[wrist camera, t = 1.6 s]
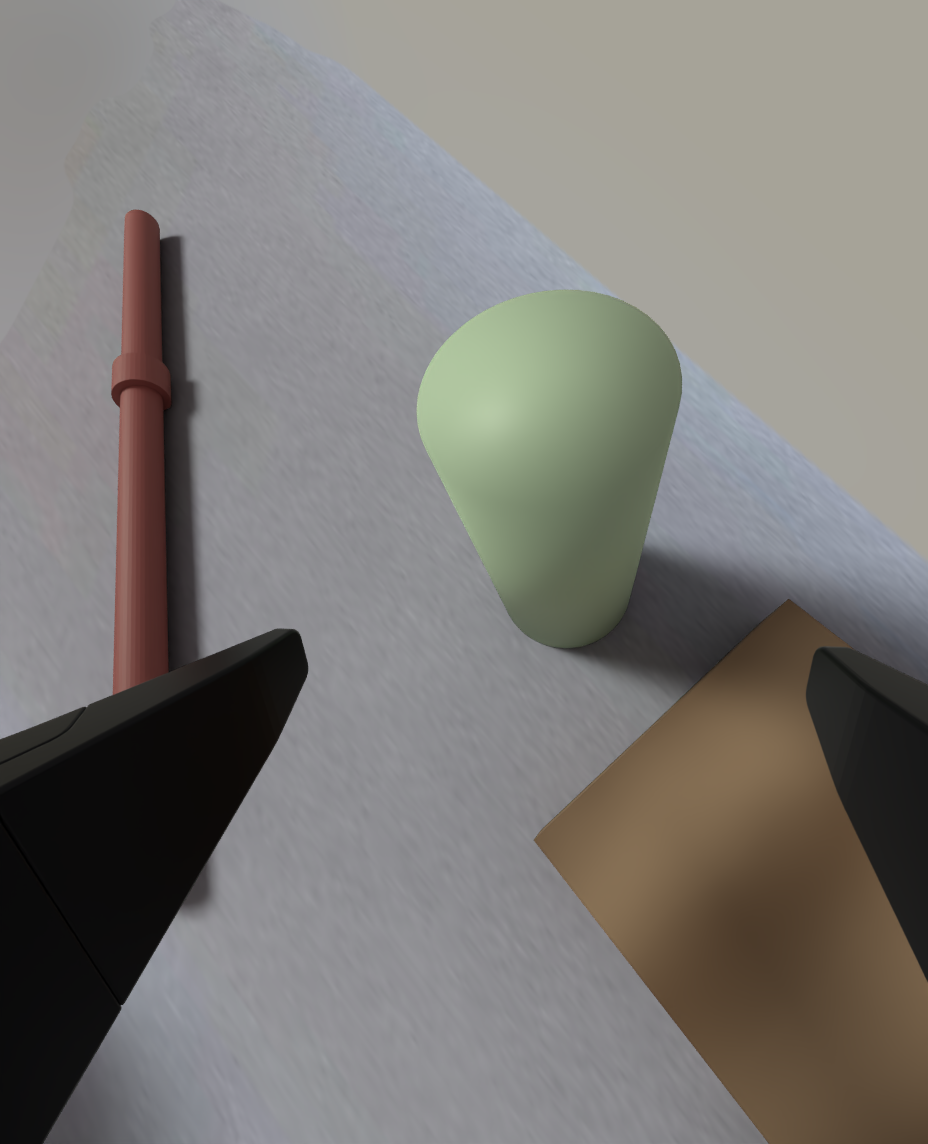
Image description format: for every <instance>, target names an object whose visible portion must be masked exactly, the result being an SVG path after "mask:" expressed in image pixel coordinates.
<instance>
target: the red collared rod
mask: <svg viewBox="0 0 928 1144" xmlns="http://www.w3.org/2000/svg"><path fill="white" fill-rule="evenodd" d="M111 395H112V399H113V401H114V402H115V403H116V405H117V406H119V407H120V430H119V470H118V510H117V550H116V590H115V630H114V669H113V695H114V694H116V693H119V692H121V691H124V690H126V689H129V688H131V687H134V686H136V685H139V684H141V683H144V682H146V681H149V680H151V679H153V678H156V677H158V676H161V675H163V674H166V673H168V672H169V668H168V619H167V570H166V520H165V471H164V421H163V410H166V409H168V408H170V407H171V376H170V372H169V370H168V368H167V367H166V366H165V365H164V364H163V363H162V322H161V272H160V228H159V225H158V223H157V221H156V220H155V219H154V218H153V217H152V216H151V215H150V214H148V213H147V212H145V211H142V210H131V211H129V212H128V213H127V214H126V216H125V230H124V270H123V311H122V351H121V355H120V356H118V357H117V358H116V359H115V360H114V362H113V365H112V392H111Z"/></svg>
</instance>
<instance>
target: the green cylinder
mask: <svg viewBox="0 0 928 1144" xmlns="http://www.w3.org/2000/svg"><path fill="white" fill-rule="evenodd" d="M681 394H682V375H681V369H680V363H679V360H678V357H677V354H676V351H675V349H674V347H673V345H672V343H671V342H670V340H669V338H668V337H667V335H666V334H665V333H664V331H663V330H662V329H661V328H660V326H659V325H657V324H656V323H655V322H654V321H653V320H652V319H651V318H650V317H649V316H648V315H646V314H645V313H643V312H642V311H640V310H639V309H637V308H636V307H634V306H632V305H630V304H628V303H626V302H624V301H622V300H619V299H616V298H614V297H611V296H608V295H604V294H599V293H595V292H589V291H581V290H552V291H543V292H537V293H531V294H527V295H523V296H520V297H516V298H513V299H510V300H508V301H505V302H502V303H500V304H498V305H496V306H493V307H491V308H489V309H487V310H485V311H484V312H482V313H480V314H479V315H477V316H475V317H474V318H472V319H471V320H470V321H468V322H467V323H466V324H464V325H463V326H462V327H460V328H459V329H458V330H457V331H456V332H455V333H454V334H453V335H452V336H450V337H449V339H448V340H447V341H446V342H445V343H444V344H443V345H442V347H441V348H440V349H439V350H438V352H437V353H436V355H435V356H434V358H433V359H432V361H431V363H430V364H429V366H428V368H427V370H426V372H425V375H424V377H423V380H422V383H421V385H420V390H419V394H418V400H417V421H418V428H419V432H420V436H421V439H422V441H423V444H424V446H425V448H426V450H427V452H428V454H429V456H430V458H431V460H432V462H433V464H434V466H435V468H436V470H437V472H438V474H439V476H440V478H441V480H442V482H443V484H444V486H445V488H446V490H447V492H448V494H449V496H450V498H451V500H452V502H453V504H454V506H455V508H456V510H457V512H458V514H459V516H460V518H461V520H462V522H463V524H464V526H465V528H466V530H467V532H468V534H469V536H470V538H471V540H472V542H473V544H474V546H475V548H476V550H477V552H478V554H479V556H480V558H481V560H482V562H483V564H484V566H485V568H486V570H487V572H488V574H489V576H490V578H491V580H492V582H493V584H494V586H495V588H496V590H497V592H498V594H499V596H500V598H501V600H502V602H503V604H504V606H505V608H506V610H507V612H508V614H509V616H510V617H511V619H512V620H513V622H514V623H515V624H516V626H517V627H518V628H519V629H520V630H521V631H522V632H523V633H524V634H526V635H527V636H528V637H530V638H531V639H533V640H535V641H537V642H539V643H542V644H544V645H547V646H552V647H557V648H575V647H581V646H585V645H588V644H591V643H593V642H596V641H598V640H599V639H601V638H603V637H604V636H606V635H607V634H608V633H610V632H611V631H612V630H613V629H614V628H615V627H616V626H617V625H618V623H619V622H620V620H621V619H622V617H623V615H624V614H625V612H626V609H627V606H628V603H629V600H630V596H631V592H632V588H633V584H634V580H635V576H636V572H637V569H638V565H639V561H640V557H641V553H642V549H643V545H644V541H645V538H646V534H647V530H648V526H649V522H650V518H651V514H652V510H653V506H654V503H655V499H656V495H657V491H658V487H659V483H660V479H661V475H662V471H663V468H664V464H665V460H666V456H667V452H668V448H669V444H670V440H671V436H672V433H673V429H674V425H675V421H676V417H677V413H678V409H679V404H680V399H681Z"/></svg>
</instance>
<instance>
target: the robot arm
mask: <svg viewBox="0 0 928 1144" xmlns="http://www.w3.org/2000/svg"><path fill="white" fill-rule="evenodd" d="M307 674H308V662H307V658H306V654H305V650H304V647H303V643H302V639H301V636H300V634H299V632H298V631H297V630H295V629H274V630H272V631H269V632H267V633H264V634H262V635H260V636H257V637H255V638H252V639H250V640H247V641H245V642H242V643H240V644H237V645H235V646H232V647H230V648H227V649H225V650H223V651H220V652H218V653H215V654H213V655H210V656H208V657H205V658H203V659H200V660H198V661H195V662H193V663H190V664H188V665H186V666H183V667H181V668H178V669H176V670H173V671H171V672H168V673H166V674H163V675H161V676H158V677H156V678H153V679H151V680H149V681H146V682H144V683H141V684H139V685H136V686H134V687H131V688H129V689H126V690H124V691H121V692H119V693H116V694H114V695H112V696H109V697H107V698H104V699H102V700H99V701H97V702H94V703H92V704H90V705H88V707H82V708H79V709H77V710H74V711H72V712H69V713H67V714H64V715H62V716H59V717H57V718H54V719H52V720H49V721H47V722H44V723H42V724H39V725H37V726H34V727H32V728H29V729H26V730H24V731H21V732H19V733H16V734H13V735H11V736H8V737H5V738H3V739H0V1144H43V1143H44V1141H45V1139H46V1137H47V1136H48V1134H49V1132H50V1131H51V1129H52V1127H53V1125H54V1124H55V1122H56V1120H57V1119H58V1117H59V1115H60V1113H61V1112H62V1110H63V1108H64V1107H65V1105H66V1103H67V1101H68V1100H69V1098H70V1096H71V1095H72V1093H73V1091H74V1089H75V1088H76V1086H77V1084H78V1083H79V1081H80V1079H81V1077H82V1076H83V1074H84V1072H85V1071H86V1069H87V1067H88V1065H89V1064H90V1062H91V1060H92V1059H93V1057H94V1055H95V1053H96V1052H97V1050H98V1048H99V1047H100V1045H101V1043H102V1041H103V1040H104V1038H105V1036H106V1035H107V1033H108V1031H109V1029H110V1028H111V1026H112V1024H113V1023H114V1021H115V1019H116V1017H117V1016H118V1014H119V1012H120V1011H121V1005H123V1004H124V1003H125V1001H126V1000H127V998H128V996H129V995H130V993H131V991H132V989H133V988H134V986H135V984H136V983H137V981H138V979H139V977H140V976H141V974H142V972H143V971H144V969H145V967H146V965H147V964H148V962H149V960H150V959H151V957H152V955H153V954H154V952H155V950H156V948H157V947H158V945H159V943H160V942H161V940H162V938H163V936H164V935H165V933H166V931H167V930H168V928H169V926H170V924H171V923H172V921H173V919H174V918H175V916H176V914H177V912H178V911H179V909H180V907H181V906H182V904H183V902H184V900H185V899H186V897H187V895H188V894H189V892H190V890H191V889H192V887H193V885H194V883H195V882H196V880H197V878H198V877H199V875H200V873H201V871H202V870H203V868H204V866H205V865H206V863H207V861H208V859H209V858H210V856H211V854H212V853H213V851H214V849H215V847H216V846H217V844H218V842H219V841H220V839H221V837H222V835H223V834H224V832H225V830H226V829H227V827H228V825H229V824H230V822H231V820H232V818H233V817H234V815H235V813H236V812H237V810H238V808H239V806H240V805H241V803H242V801H243V800H244V798H245V796H246V794H247V793H248V791H249V789H250V788H251V786H252V784H253V782H254V781H255V779H256V777H257V776H258V774H259V772H260V770H261V769H262V767H263V765H264V764H265V762H266V760H267V759H268V757H269V755H270V753H271V752H272V750H273V748H274V746H275V744H276V743H277V741H278V738H279V736H280V734H281V732H282V730H283V728H284V726H285V724H286V722H287V719H288V717H289V715H290V713H291V711H292V708H293V706H294V704H295V702H296V700H297V697H298V695H299V693H300V691H301V689H302V686H303V684H304V682H305V680H306V678H307ZM806 702H807V706H808V709H809V712H810V715H811V718H812V721H813V724H814V727H815V730H816V733H817V736H818V739H819V742H820V745H821V748H822V751H823V754H824V757H825V760H826V763H827V765H828V768H829V771H830V774H831V777H832V780H833V783H834V785H835V788H836V791H837V793H838V796H839V798H840V800H841V802H842V805H843V807H844V809H845V811H846V813H847V815H848V817H849V819H850V822H851V824H852V826H853V828H854V830H855V832H856V834H857V836H858V838H859V840H860V842H861V844H862V847H863V849H864V851H865V853H866V855H867V857H868V859H869V861H870V863H871V865H872V867H873V870H874V872H875V874H876V876H877V878H878V880H879V882H880V884H881V886H882V888H883V890H884V892H885V895H886V897H887V899H888V901H889V903H890V905H891V907H892V909H893V911H894V913H895V915H896V918H897V920H898V922H899V924H900V926H901V928H902V930H903V932H904V934H905V936H906V938H907V941H908V943H909V945H910V947H911V949H912V951H913V953H914V955H915V957H916V959H917V961H918V963H919V966H920V968H921V970H922V972H923V974H924V976H925V978H926V980H927V982H928V685H927V684H925V683H923V682H921V681H918V680H916V679H914V678H912V677H910V676H908V675H906V674H904V673H902V672H900V671H898V670H895V669H893V668H891V667H889V666H887V665H885V664H883V663H881V662H879V661H877V660H875V659H872V658H870V657H868V656H866V655H864V654H862V653H860V652H858V651H856V650H854V649H851V648H848V647H829V646H823V647H819V648H818V649H816V651H815V653H814V655H813V659H812V664H811V669H810V673H809V678H808V683H807V687H806Z"/></svg>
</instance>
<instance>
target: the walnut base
mask: <svg viewBox="0 0 928 1144" xmlns="http://www.w3.org/2000/svg"><path fill="white" fill-rule="evenodd" d="M823 646H829V647H848V648H851V649H853V648H852V647H850V646H849V645H848V644H846V643H845V642H844V641H843V640H841V639H840V638H839V637H837V636H836V635H835V634H834V633H832V632H831V631H830V630H828V629H827V628H826V627H824V626H823V625H822V624H821V623H819V622H818V621H817V620H815V619H814V618H813V617H812V616H810V615H809V614H808V613H806V612H805V611H804V610H803V609H801V608H800V607H799V606H797V605H796V604H795V603H793V602H792V601H791V600H790V599H788V600H787V601H786V602H784V603H783V604H782V605H781V606H780V607H778V608H777V609H776V610H775V611H774V612H773V613H771V614H770V615H769V616H768V617H767V618H765V619H764V620H763V621H762V622H761V623H760V624H759V625H758V626H757V627H755V628H754V629H753V630H752V631H751V632H750V633H749V634H748V635H747V636H746V637H745V638H744V639H743V640H742V641H741V642H740V643H739V644H737V645H736V646H735V647H734V648H733V649H732V650H731V651H730V652H729V653H728V654H727V655H726V656H725V657H724V658H723V659H722V660H721V661H719V662H718V663H717V664H716V665H715V666H714V667H713V668H712V669H711V670H710V671H709V672H708V673H707V674H706V675H705V676H704V677H703V678H701V679H700V680H699V681H698V682H697V683H696V684H695V685H694V686H693V687H692V688H691V689H690V690H689V691H688V692H687V693H686V694H685V695H683V696H682V697H681V698H680V699H679V700H678V701H677V702H676V703H675V704H674V705H673V706H672V707H671V708H670V709H669V710H668V711H667V712H666V713H664V714H663V715H662V716H661V717H660V718H659V719H658V720H657V721H656V722H655V723H654V724H653V725H652V726H651V727H650V728H649V729H648V730H646V731H645V732H644V733H643V734H642V735H641V736H640V737H639V738H638V739H637V740H636V741H635V742H634V743H633V744H632V745H631V746H630V747H628V748H627V749H626V750H625V751H624V752H623V753H622V754H621V755H620V756H619V757H618V758H617V759H616V760H615V761H614V762H613V763H612V764H610V765H609V766H608V767H607V768H606V769H605V770H604V771H603V772H602V773H601V774H600V775H599V776H598V777H597V778H596V779H595V780H594V781H592V782H591V783H590V784H589V785H588V786H587V787H586V788H585V789H584V790H583V791H582V792H581V793H580V794H579V795H578V796H577V797H576V798H574V799H573V800H572V801H571V802H570V803H569V804H568V805H567V806H566V807H565V808H564V809H563V810H562V811H561V812H560V813H559V814H558V815H557V816H555V817H554V818H553V819H552V820H551V821H550V822H549V823H548V824H547V825H546V826H545V827H544V828H543V829H542V830H541V831H540V832H539V834H538V835H537V836H536V838H535V839H534V841H535V842H536V844H537V845H538V846H539V847H540V849H541V850H542V851H543V853H544V854H545V855H546V856H547V858H548V859H549V860H550V862H551V863H552V864H553V866H554V867H555V868H556V869H557V871H558V872H559V873H560V875H561V876H562V877H563V878H564V880H565V881H566V882H567V884H568V885H569V886H570V887H571V889H572V890H573V891H574V893H575V894H576V895H577V896H578V898H579V899H580V900H581V902H582V903H583V904H584V906H585V907H586V908H587V909H588V911H589V912H590V913H591V915H592V916H593V917H594V918H595V920H596V921H597V922H598V924H599V925H600V926H601V927H602V929H603V930H604V931H605V933H606V934H607V935H608V937H609V938H610V939H611V940H612V942H613V943H614V944H615V946H616V947H617V948H618V949H619V951H620V952H621V953H622V955H623V956H624V957H625V958H626V960H627V961H628V962H629V964H630V965H631V966H632V967H633V969H634V970H635V971H636V973H637V974H638V975H639V977H640V978H641V979H642V980H643V982H644V983H645V984H646V986H647V987H648V988H649V989H650V991H651V992H652V993H653V995H654V996H655V997H656V998H657V1000H658V1001H659V1002H660V1004H661V1005H662V1006H663V1008H664V1009H665V1010H666V1011H667V1013H668V1014H669V1015H670V1017H671V1018H672V1019H673V1020H674V1022H675V1023H676V1024H677V1026H678V1027H679V1028H680V1029H681V1031H682V1032H683V1033H684V1035H685V1036H686V1037H687V1038H688V1040H689V1041H690V1042H691V1044H692V1045H693V1046H694V1048H695V1049H696V1050H697V1051H698V1053H699V1054H700V1055H701V1057H702V1058H703V1059H704V1060H705V1062H706V1063H707V1064H708V1066H709V1067H710V1068H711V1069H712V1071H713V1072H714V1073H715V1075H716V1076H717V1077H718V1078H719V1080H720V1081H721V1082H722V1084H723V1085H724V1086H725V1088H726V1089H727V1090H728V1091H729V1093H730V1094H731V1095H732V1097H733V1098H734V1099H735V1100H736V1102H737V1103H738V1104H739V1106H740V1107H741V1108H742V1109H743V1111H744V1112H745V1113H746V1115H747V1116H748V1117H749V1119H750V1120H751V1121H752V1122H753V1124H754V1125H755V1126H756V1128H757V1129H758V1130H759V1131H760V1133H761V1134H762V1135H763V1137H764V1138H765V1139H766V1140H767V1142H768V1143H769V1144H928V982H927V980H926V978H925V976H924V974H923V972H922V970H921V968H920V966H919V963H918V961H917V959H916V957H915V955H914V953H913V951H912V949H911V947H910V945H909V943H908V941H907V938H906V936H905V934H904V932H903V930H902V928H901V926H900V924H899V922H898V920H897V918H896V915H895V913H894V911H893V909H892V907H891V905H890V903H889V901H888V899H887V897H886V895H885V892H884V890H883V888H882V886H881V884H880V882H879V880H878V878H877V876H876V874H875V872H874V870H873V867H872V865H871V863H870V861H869V859H868V857H867V855H866V853H865V851H864V849H863V847H862V844H861V842H860V840H859V838H858V836H857V834H856V832H855V830H854V828H853V826H852V824H851V822H850V819H849V817H848V815H847V813H846V811H845V809H844V807H843V805H842V802H841V800H840V798H839V796H838V793H837V791H836V788H835V785H834V783H833V780H832V777H831V774H830V771H829V768H828V765H827V763H826V760H825V757H824V754H823V751H822V748H821V745H820V742H819V739H818V736H817V733H816V730H815V727H814V724H813V721H812V718H811V715H810V712H809V709H808V706H807V702H806V687H807V683H808V678H809V673H810V669H811V664H812V659H813V655H814V653H815V651H816V649H818V648H819V647H823Z"/></svg>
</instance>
